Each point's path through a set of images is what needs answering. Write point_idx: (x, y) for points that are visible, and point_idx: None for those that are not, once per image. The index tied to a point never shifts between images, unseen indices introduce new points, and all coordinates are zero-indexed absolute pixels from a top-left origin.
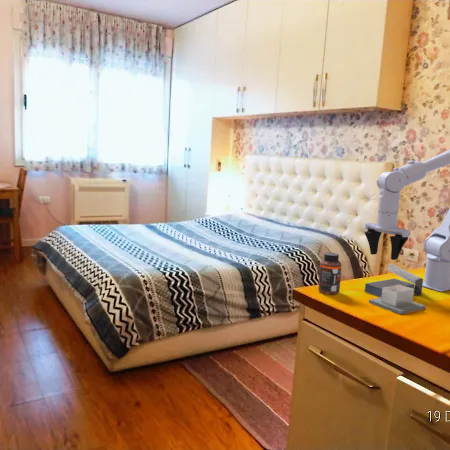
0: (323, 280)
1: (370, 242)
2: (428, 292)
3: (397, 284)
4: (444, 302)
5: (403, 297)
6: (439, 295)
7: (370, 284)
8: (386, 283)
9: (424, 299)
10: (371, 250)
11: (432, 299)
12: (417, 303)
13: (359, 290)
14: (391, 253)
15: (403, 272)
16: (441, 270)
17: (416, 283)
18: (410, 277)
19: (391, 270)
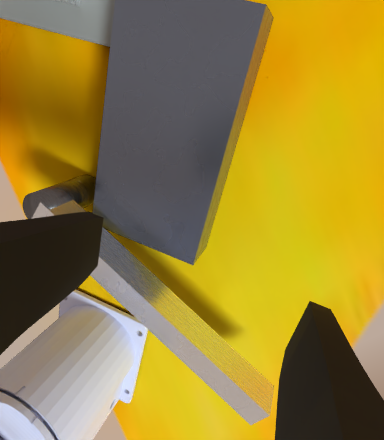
0: None
1: (350, 404)
2: None
3: (133, 160)
4: (5, 168)
5: None
6: None
7: (231, 16)
8: (177, 132)
9: (52, 148)
10: (320, 323)
11: (39, 173)
12: (5, 12)
13: (311, 19)
14: (61, 225)
15: (141, 291)
16: (18, 355)
17: (55, 188)
18: None
19: (241, 363)
